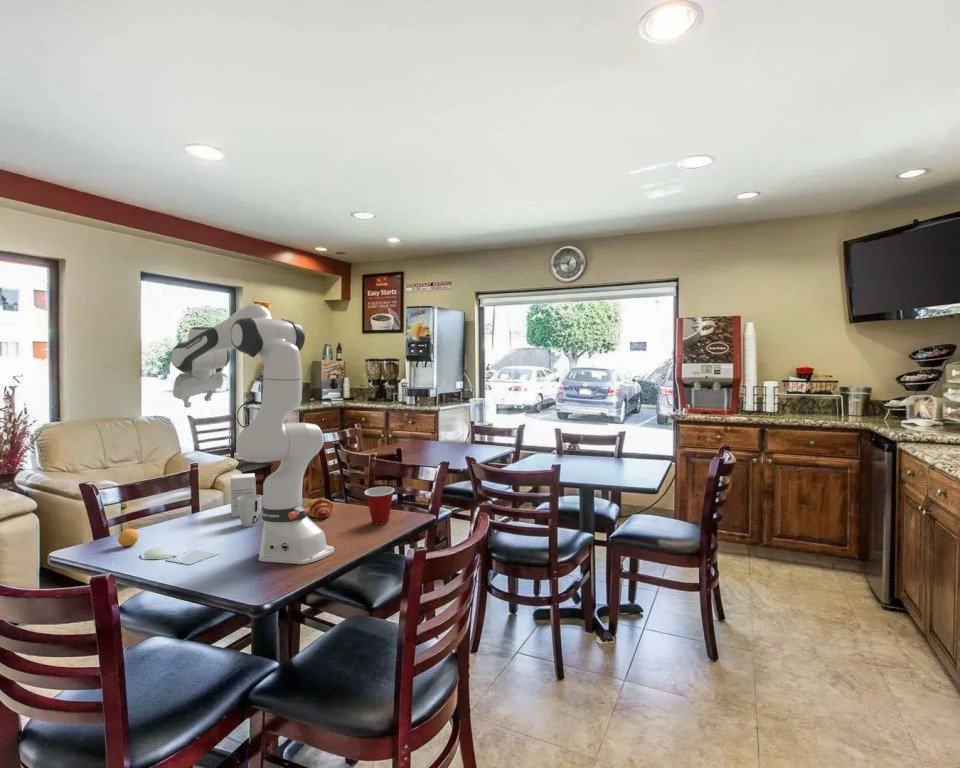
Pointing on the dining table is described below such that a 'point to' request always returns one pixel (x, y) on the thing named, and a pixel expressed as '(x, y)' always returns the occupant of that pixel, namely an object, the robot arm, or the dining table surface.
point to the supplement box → (241, 489)
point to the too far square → (194, 557)
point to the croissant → (319, 508)
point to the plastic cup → (379, 503)
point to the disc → (158, 553)
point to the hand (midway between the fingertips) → (197, 403)
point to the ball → (128, 537)
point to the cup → (249, 509)
